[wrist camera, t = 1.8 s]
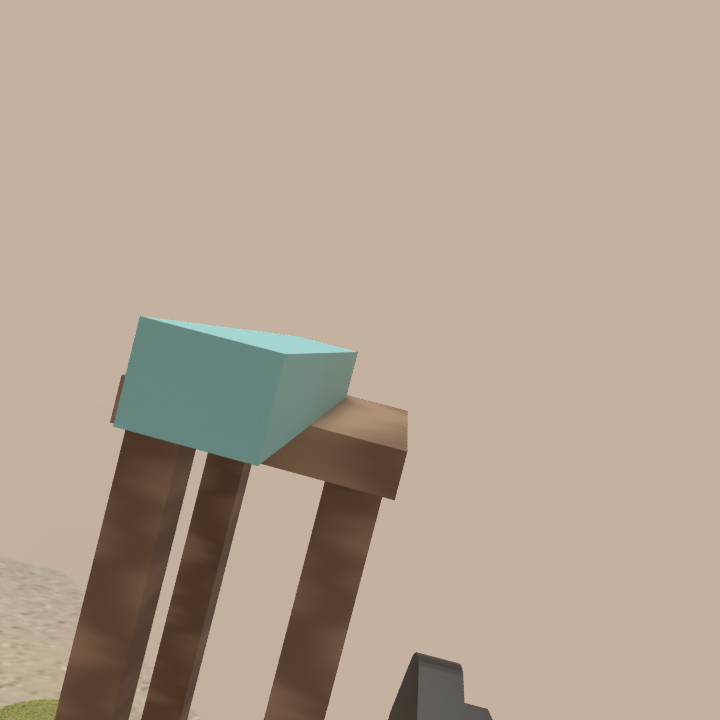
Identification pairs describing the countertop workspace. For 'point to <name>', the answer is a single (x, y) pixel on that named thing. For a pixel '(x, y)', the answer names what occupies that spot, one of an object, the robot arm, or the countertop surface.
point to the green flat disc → (30, 710)
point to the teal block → (228, 387)
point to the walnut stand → (209, 558)
